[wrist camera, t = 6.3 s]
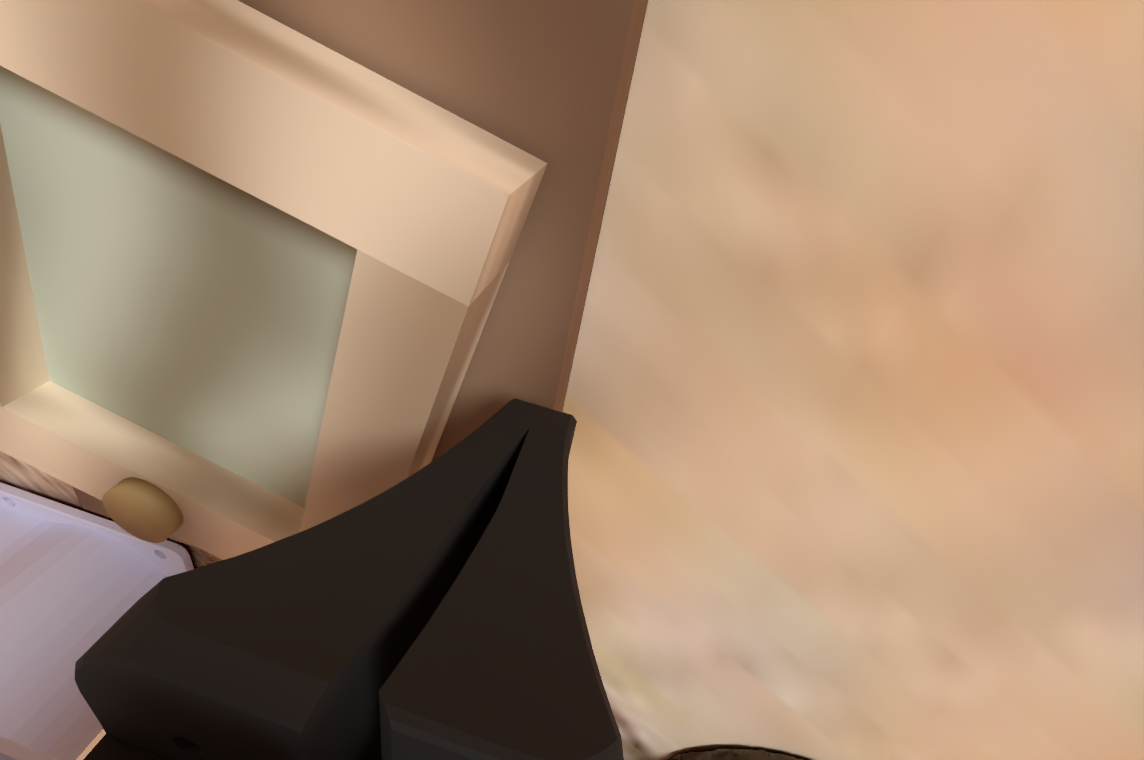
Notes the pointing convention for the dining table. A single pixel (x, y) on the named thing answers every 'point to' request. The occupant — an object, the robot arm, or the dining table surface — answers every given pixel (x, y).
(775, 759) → the pillar candle
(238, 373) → the cabinet door with knob
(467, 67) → the walnut board
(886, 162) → the dining table surface
